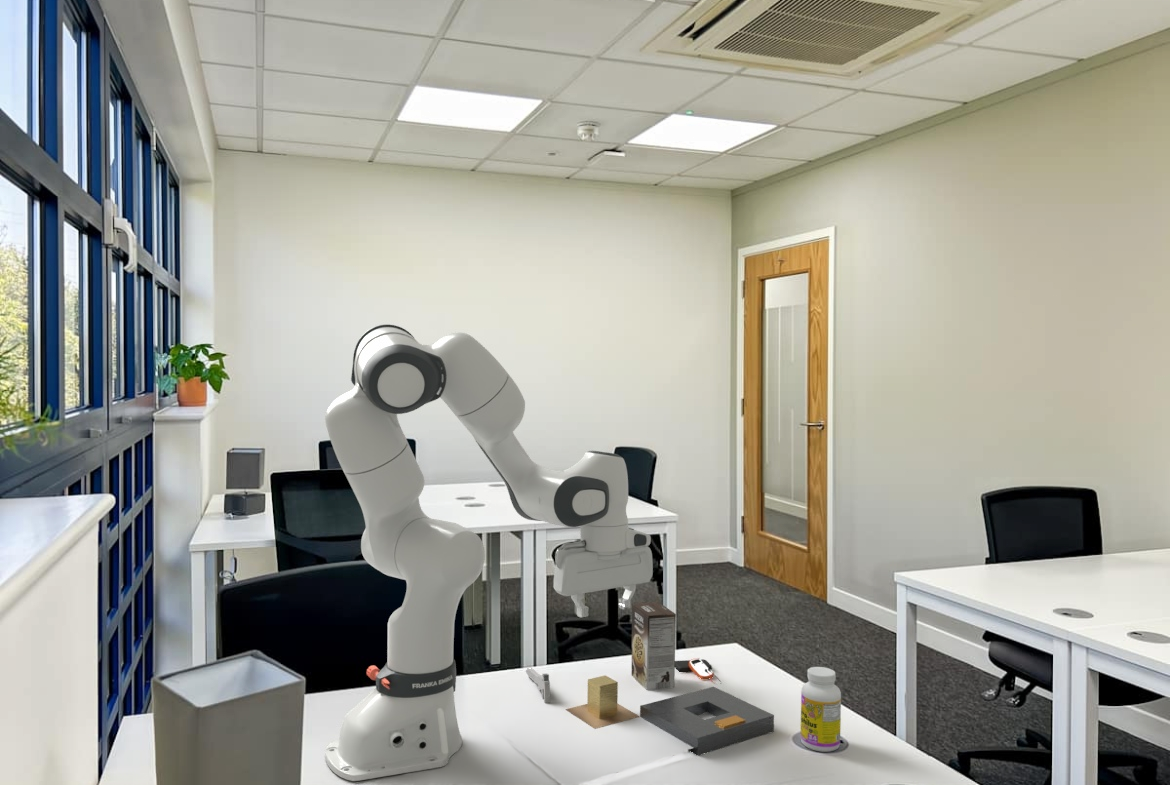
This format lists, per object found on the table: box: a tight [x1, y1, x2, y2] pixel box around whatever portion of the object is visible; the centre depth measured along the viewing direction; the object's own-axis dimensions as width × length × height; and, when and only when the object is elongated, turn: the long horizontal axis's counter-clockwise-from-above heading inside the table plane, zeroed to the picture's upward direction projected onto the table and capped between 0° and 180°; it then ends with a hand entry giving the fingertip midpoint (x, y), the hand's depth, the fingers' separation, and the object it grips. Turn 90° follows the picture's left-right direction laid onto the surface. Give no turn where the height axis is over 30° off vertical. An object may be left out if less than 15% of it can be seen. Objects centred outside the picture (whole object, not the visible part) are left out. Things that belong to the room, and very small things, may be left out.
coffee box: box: [631, 601, 677, 691], centre depth 169 cm, size 9×6×16 cm
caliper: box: [525, 667, 551, 704], centre depth 166 cm, size 20×1×6 cm, turn 15°
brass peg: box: [586, 674, 619, 719], centre depth 152 cm, size 4×4×6 cm
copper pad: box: [565, 702, 641, 730], centre depth 152 cm, size 10×10×1 cm
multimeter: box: [675, 657, 722, 684], centre depth 173 cm, size 18×12×3 cm, turn 5°
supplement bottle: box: [800, 666, 842, 753], centre depth 142 cm, size 7×7×13 cm
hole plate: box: [639, 686, 775, 756], centre depth 149 cm, size 18×16×3 cm
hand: (603, 612), depth 152 cm, fingers open, 8 cm apart
